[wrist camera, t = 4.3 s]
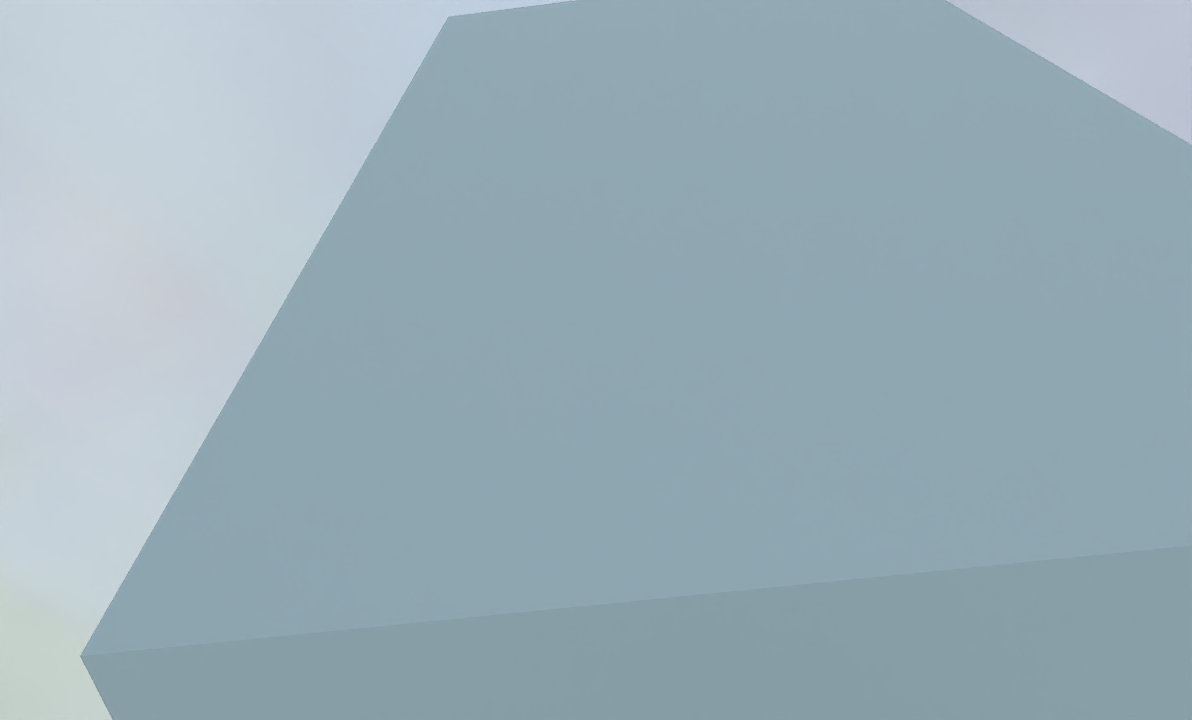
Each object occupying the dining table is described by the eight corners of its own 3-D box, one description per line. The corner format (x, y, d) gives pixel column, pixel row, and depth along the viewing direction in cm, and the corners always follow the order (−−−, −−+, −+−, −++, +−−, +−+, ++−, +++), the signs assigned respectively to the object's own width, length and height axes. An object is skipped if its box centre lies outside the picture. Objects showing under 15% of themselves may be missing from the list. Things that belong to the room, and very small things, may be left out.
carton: (899, -42, 10) (1855, 476, 3) (881, 658, 15) (1193, 1568, 8) (429, 18, 11) (8, 664, 3) (559, 689, 16) (538, 1603, 8)
